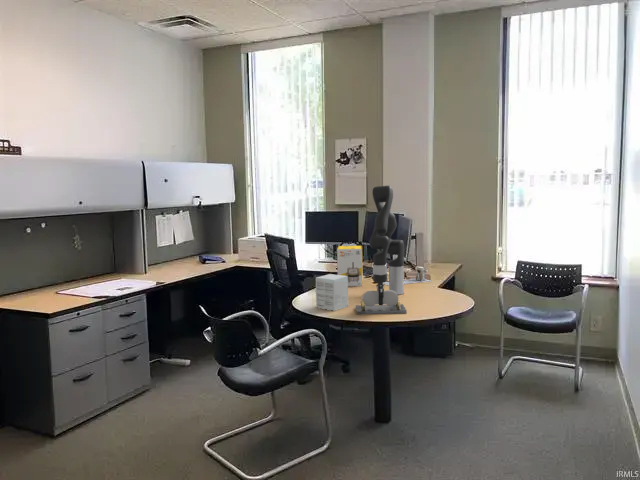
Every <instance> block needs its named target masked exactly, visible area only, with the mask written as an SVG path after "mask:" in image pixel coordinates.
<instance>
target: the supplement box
mask: <svg viewBox="0 0 640 480" xmlns="http://www.w3.org/2000/svg"><path fill="white" fill-rule="evenodd" d="M315 303H316V305H315V307H318V308H317V309H320V308H322V309H321V310H325V309H327V310H326V311H331V310H333V311H332V312H336V311H339V310H342V309H344V308H348V307H349V286H348V276H343V275H338V274H332V273H328V274H325V275H324V274H323V275H321V276H316V277H315ZM338 309H339V310H338ZM335 310H336V311H335Z"/></svg>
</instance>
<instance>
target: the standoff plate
mask: <svg viewBox="0 0 640 480" xmlns="http://www.w3.org/2000/svg"><path fill="white" fill-rule="evenodd" d="M355 309H356V314H357V315H389V314H390V315H391V314H407V309H406V307H405V305H404V304H402V303H401V300H400V299H398V300H397V303H396V304H395V305H393V306H389V305H387V304H383V305H379V304H375V305H373V306H366V305H365V301H362V298H360V305H359V304H357V305H355Z"/></svg>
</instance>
